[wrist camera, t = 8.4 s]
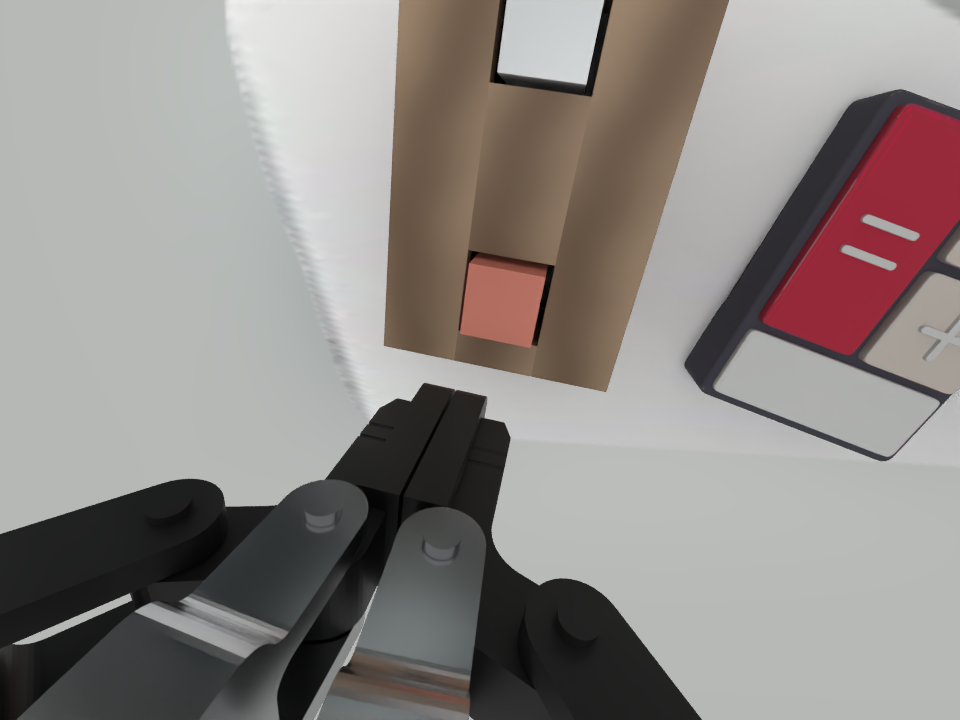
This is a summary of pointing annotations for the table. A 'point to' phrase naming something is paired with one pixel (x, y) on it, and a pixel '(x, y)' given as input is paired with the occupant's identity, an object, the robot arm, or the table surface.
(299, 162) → the table surface
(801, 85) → the table surface
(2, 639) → the robot arm
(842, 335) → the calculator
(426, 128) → the block
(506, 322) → the red plug
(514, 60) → the grey plug
